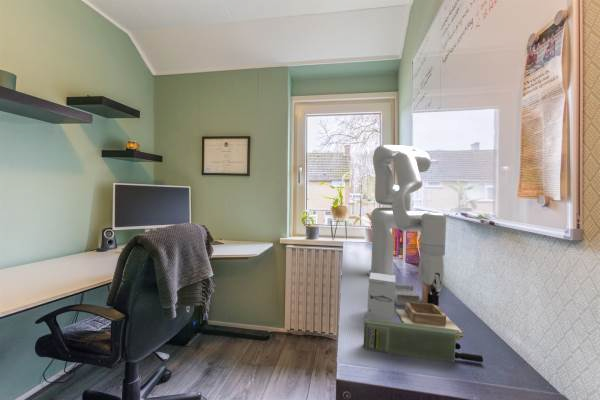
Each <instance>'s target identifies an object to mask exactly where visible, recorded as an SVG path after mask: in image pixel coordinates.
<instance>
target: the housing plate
mask: <svg viewBox="0 0 600 400" xmlns="http://www.w3.org/2000/svg"><path fill="white" fill-rule="evenodd" d="M406 302H417V303H420V295H419V294H418V293H417V292H416V291H415V289H414V285H412V284H400V283H399V284H398V283H395V301H394V304H395V305H396V306H403V307H405V303H406Z"/></svg>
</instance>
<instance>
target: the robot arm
mask: <svg viewBox="0 0 600 400" xmlns="http://www.w3.org/2000/svg"><path fill="white" fill-rule="evenodd" d="M431 162H432V161H431V157H430V156H429V154H428V153H427V152H426V151H424V150H421V149H418V148H416V147H414V146H409V145H397V144H381V145H378V146H377V147H376V148H375V149H374V152H373V156H372V165H373V169H374V175H375V178H374V179H375V180H374V198H375V199H374V200H375V202H376V203H377V204H378V205H385V206H387V205H388V206H391V207H377V208H374V209H373V210H372V211H371V214H370V222H371V223H370V224H371V230H372V232H371V233H372V235H371V236H372V238H371V239H372V240H371V241H372V242H371V262H370V263H371V265H370V267H371V268H370V270H368V271H367V275H368V276H369V277H370V273H371V272H372V273H379V274H386V275H394V276H396V277H397V275H396V273H395V272H394V271H393V269H394V247H395V246H394V245H395V243H394V242H395V241H394V240H395V238H394V236H393V233H392V232H391V230H390V229H399V230H400V231H403V232H419V233H420V240H419V242H420V243H419V253H420V255H419V262H418V273H417V274H418V276H417V277H418V279H420V280H421V281H422V283H423V282H424V283H425V284H426V285H429V294H428V303H429V304H434V305H437V306H438V301H439V302H440V292H441V291H442V286H443V284H444V276H445V275H444V256H446V255H445V254H446V235H447V234H446V233H447V217H446V214H444V213H440V212H431V211H427V210H411V203H412V202H411V201H412V200H411V194H412V193H414V192H416V191H418V190H420V189H421V188H422V187H423V180H422V178H421V173H425V172H427V171H428V170H429V169H430V167H431ZM390 165H393V166H394V170H393V169H392V167H391V166H390ZM394 172H395V173H394ZM395 174H396V180H397V184H395ZM432 283H435V285H433V284H432ZM432 287H435V288H433V289H432Z"/></svg>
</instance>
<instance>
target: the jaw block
mask: <svg viewBox="0 0 600 400" xmlns="http://www.w3.org/2000/svg"><path fill="white" fill-rule="evenodd" d="M432 284H433V285H435V283H432ZM433 288H435V287H432V289H433ZM421 289H422V290H421V303H428V294H429V285H426V284H425V283H424V282H423V281H422V288H421ZM439 306H440V300H439V301H438V307H439ZM439 308H440V307H439Z"/></svg>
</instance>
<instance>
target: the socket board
mask: <svg viewBox="0 0 600 400" xmlns="http://www.w3.org/2000/svg"><path fill="white" fill-rule="evenodd" d="M395 313H396V314H397V315H398V317H399V319H400V320H401V323H407V324H415V325H423V326H431V327H439V328H447V329H455V330H459V331H460V333H461V334H456V335H459V336H460V337H463V336H464V335H463V334H464V332H463V331H462V330H461V329H460V328H459V327H458V326H457V325H456V323H454V322H453V321H452V320H451V319H450V318H449V317H448V316H447V314H446V313H445V312H444V311H442V309H441V308H440V307H438V306H437V305H434V304H429V303H422V302H419V303H417V302H406V303H405V306H404V309H402V308H396V309H395Z"/></svg>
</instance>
